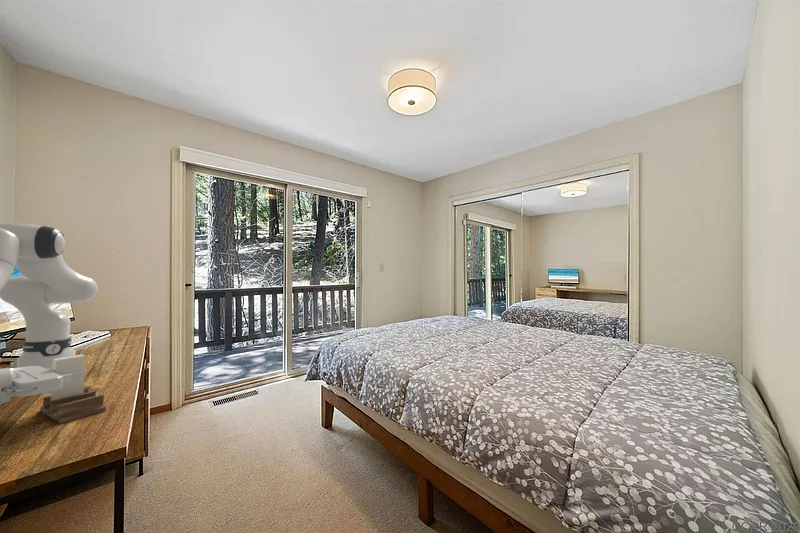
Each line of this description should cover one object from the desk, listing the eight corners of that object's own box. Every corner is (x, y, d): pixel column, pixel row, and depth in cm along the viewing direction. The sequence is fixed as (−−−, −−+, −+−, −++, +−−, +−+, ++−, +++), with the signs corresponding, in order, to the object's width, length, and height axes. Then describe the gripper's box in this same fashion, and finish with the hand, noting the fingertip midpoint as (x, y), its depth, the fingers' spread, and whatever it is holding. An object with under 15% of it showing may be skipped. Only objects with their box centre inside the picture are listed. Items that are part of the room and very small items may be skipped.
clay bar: (49, 408, 85) (52, 358, 86) (79, 400, 90) (82, 354, 91) (53, 410, 84) (56, 360, 84) (83, 402, 89) (85, 355, 90)
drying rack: (40, 410, 86) (41, 396, 86) (83, 399, 94) (84, 386, 94) (60, 423, 79) (61, 407, 79) (105, 410, 87) (106, 396, 87)
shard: (64, 404, 92) (65, 398, 92) (40, 403, 92) (41, 397, 92) (100, 391, 102) (101, 385, 102) (79, 390, 103) (79, 385, 103)
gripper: (9, 381, 72) (89, 366, 84) (-12, 368, 81) (62, 357, 93) (8, 407, 71) (87, 389, 84) (-14, 391, 81) (61, 377, 93)
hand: (74, 372), depth 89 cm, fingers open, 8 cm apart
